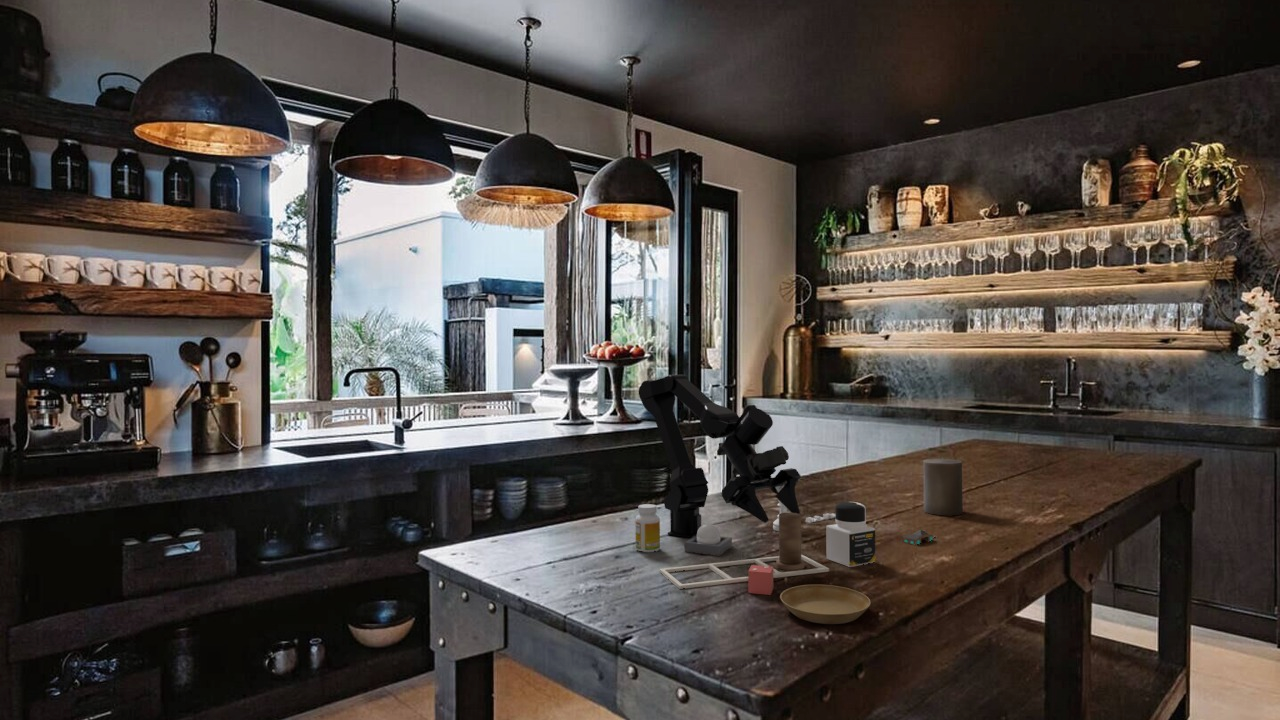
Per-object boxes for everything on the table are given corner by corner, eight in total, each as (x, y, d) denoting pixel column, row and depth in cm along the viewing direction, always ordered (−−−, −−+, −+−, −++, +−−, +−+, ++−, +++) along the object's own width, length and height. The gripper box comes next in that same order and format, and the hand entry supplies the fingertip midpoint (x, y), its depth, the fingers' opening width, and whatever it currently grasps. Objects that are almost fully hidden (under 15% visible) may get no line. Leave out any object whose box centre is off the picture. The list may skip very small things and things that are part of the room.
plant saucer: (815, 636, 116) (815, 619, 116) (763, 606, 130) (763, 591, 130) (890, 621, 122) (890, 605, 122) (832, 594, 136) (832, 579, 136)
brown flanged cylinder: (772, 568, 150) (772, 516, 150) (780, 561, 155) (780, 510, 155) (800, 572, 148) (800, 519, 148) (807, 564, 153) (807, 513, 153)
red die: (748, 592, 136) (748, 570, 136) (751, 586, 140) (751, 564, 140) (770, 594, 135) (770, 572, 135) (773, 587, 138) (773, 565, 138)
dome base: (684, 551, 164) (684, 542, 164) (698, 542, 171) (698, 533, 171) (719, 555, 160) (719, 546, 160) (731, 546, 167) (731, 537, 167)
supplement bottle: (663, 547, 167) (663, 504, 166) (654, 554, 162) (653, 509, 162) (641, 545, 169) (641, 502, 169) (631, 551, 164) (631, 507, 164)
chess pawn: (793, 532, 179) (793, 495, 179) (772, 531, 180) (772, 494, 180) (793, 527, 184) (793, 491, 184) (773, 526, 185) (773, 490, 185)
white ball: (693, 548, 164) (692, 525, 164) (702, 542, 169) (701, 520, 169) (715, 551, 162) (715, 527, 162) (723, 545, 166) (723, 522, 166)
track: (679, 589, 138) (679, 585, 138) (659, 572, 149) (659, 569, 149) (829, 571, 148) (829, 568, 148) (800, 556, 159) (800, 553, 159)
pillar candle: (968, 516, 194) (968, 458, 194) (931, 516, 194) (930, 458, 194) (953, 508, 204) (953, 453, 204) (917, 508, 204) (917, 453, 204)
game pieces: (765, 513, 202) (765, 492, 201) (798, 507, 209) (798, 486, 209) (910, 550, 165) (910, 524, 165) (945, 541, 172) (945, 516, 172)
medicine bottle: (849, 567, 151) (849, 508, 150) (825, 559, 157) (825, 502, 157) (876, 562, 154) (876, 504, 154) (851, 554, 160) (851, 498, 160)
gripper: (730, 438, 152) (770, 500, 143) (793, 431, 163) (834, 488, 154) (705, 472, 158) (742, 534, 149) (767, 463, 169) (805, 520, 160)
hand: (782, 518), depth 153 cm, fingers open, 9 cm apart
